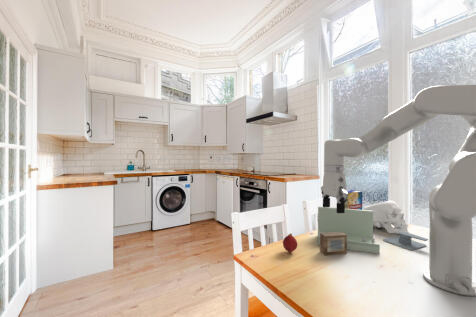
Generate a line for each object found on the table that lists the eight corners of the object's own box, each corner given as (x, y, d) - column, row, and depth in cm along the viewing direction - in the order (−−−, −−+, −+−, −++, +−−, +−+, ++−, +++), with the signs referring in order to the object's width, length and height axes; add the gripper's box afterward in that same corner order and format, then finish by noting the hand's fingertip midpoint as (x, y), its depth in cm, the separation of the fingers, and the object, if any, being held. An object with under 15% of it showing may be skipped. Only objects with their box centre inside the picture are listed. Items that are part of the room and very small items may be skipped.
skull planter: (406, 235, 103) (387, 198, 111) (369, 241, 118) (355, 208, 126) (420, 231, 109) (400, 196, 117) (383, 237, 125) (368, 206, 133)
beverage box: (362, 232, 112) (362, 191, 112) (348, 235, 108) (348, 192, 107) (350, 228, 118) (350, 189, 118) (336, 231, 114) (337, 191, 114)
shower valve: (418, 241, 88) (381, 230, 101) (418, 254, 88) (381, 241, 101) (434, 237, 93) (397, 226, 106) (434, 249, 93) (397, 237, 106)
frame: (347, 254, 87) (347, 234, 87) (325, 255, 85) (325, 236, 85) (341, 250, 90) (341, 231, 90) (319, 251, 89) (320, 233, 89)
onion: (287, 256, 84) (287, 236, 84) (280, 250, 90) (280, 231, 90) (299, 254, 86) (300, 235, 86) (292, 248, 91) (292, 230, 91)
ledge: (379, 253, 87) (379, 217, 87) (317, 244, 96) (318, 212, 96) (372, 242, 99) (372, 210, 99) (317, 235, 107) (318, 206, 107)
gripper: (356, 170, 80) (355, 215, 80) (329, 168, 97) (329, 205, 97) (338, 170, 79) (337, 215, 79) (314, 168, 96) (314, 205, 96)
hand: (333, 209), depth 88 cm, fingers open, 9 cm apart
